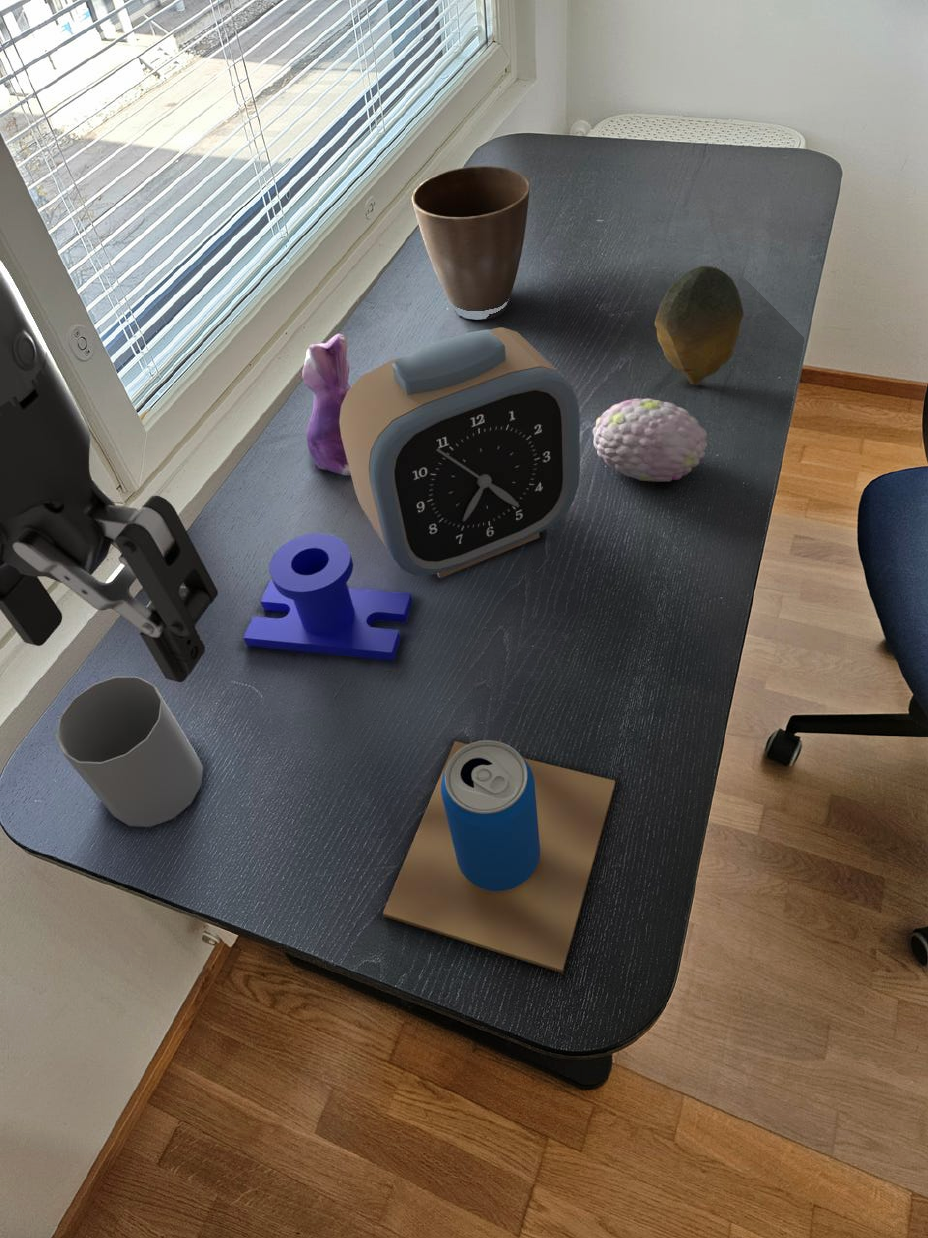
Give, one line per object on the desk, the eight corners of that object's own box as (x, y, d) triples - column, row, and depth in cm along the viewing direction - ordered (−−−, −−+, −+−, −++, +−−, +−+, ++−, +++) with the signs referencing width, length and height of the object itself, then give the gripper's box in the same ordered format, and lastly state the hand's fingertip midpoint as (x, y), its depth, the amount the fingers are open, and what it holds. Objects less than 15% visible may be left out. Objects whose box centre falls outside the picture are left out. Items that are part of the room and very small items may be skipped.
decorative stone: (735, 373, 108) (752, 254, 96) (730, 403, 104) (747, 283, 93) (655, 367, 110) (662, 251, 99) (647, 396, 107) (654, 278, 95)
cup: (170, 727, 81) (128, 659, 74) (221, 778, 77) (182, 712, 70) (90, 788, 78) (37, 724, 70) (139, 846, 74) (88, 783, 66)
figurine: (335, 418, 110) (306, 307, 99) (401, 440, 106) (379, 327, 95) (286, 463, 105) (250, 351, 94) (354, 487, 101) (325, 373, 90)
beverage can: (488, 804, 72) (474, 720, 63) (556, 844, 69) (552, 762, 60) (441, 867, 69) (419, 787, 60) (510, 912, 66) (498, 835, 57)
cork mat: (562, 973, 63) (562, 970, 63) (383, 916, 67) (382, 913, 67) (615, 784, 73) (615, 780, 72) (455, 744, 77) (455, 740, 76)
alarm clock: (402, 601, 89) (361, 424, 72) (368, 544, 95) (323, 368, 78) (582, 527, 93) (581, 344, 77) (539, 477, 99) (530, 297, 83)
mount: (247, 645, 87) (219, 584, 80) (272, 589, 92) (248, 527, 85) (393, 660, 84) (377, 598, 77) (412, 601, 88) (398, 538, 82)
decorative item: (705, 472, 89) (660, 382, 88) (613, 513, 96) (569, 431, 94) (726, 448, 96) (685, 364, 95) (639, 488, 103) (599, 410, 101)
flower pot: (445, 276, 130) (431, 163, 118) (545, 281, 127) (541, 165, 115) (414, 332, 121) (396, 216, 109) (521, 339, 118) (513, 219, 106)
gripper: (-281, 406, 32) (-45, 677, 44) (28, 461, 28) (196, 743, 40) (-130, 299, 37) (48, 572, 49) (157, 333, 33) (273, 622, 45)
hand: (115, 649), depth 45 cm, fingers open, 8 cm apart
